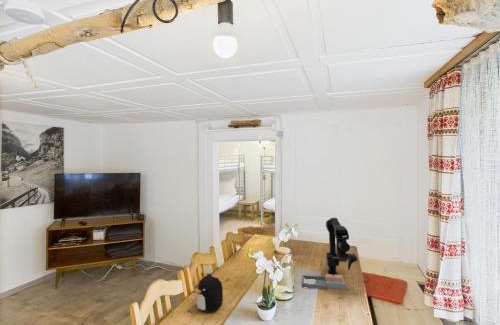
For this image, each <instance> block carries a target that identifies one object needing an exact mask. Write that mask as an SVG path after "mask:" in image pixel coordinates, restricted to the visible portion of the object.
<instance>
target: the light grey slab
mask: <svg viewBox="0 0 500 325" xmlns="http://www.w3.org/2000/svg"><path fill="white" fill-rule="evenodd" d="M325 282H326V285H327V289H337V290H346V283H345V279H344V278H343V282H336V281H335V279H334V281H326V277H325Z"/></svg>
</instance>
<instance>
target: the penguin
mask: <svg viewBox="0 0 500 325" xmlns="http://www.w3.org/2000/svg"><path fill="white" fill-rule="evenodd" d="M223 294H224V293H223V283H222V281H221V280H220V279H219V277H215V276H213V274H208V275H206V276H204V277H202V279H200V280H199V282H198V287H197V297H196V300H195V301H196V302H195V303H196V307H197V308H198V309H199V310H200V311H202V310H205V311H209V312H213V311H212V310H214V311H216V310H217V309H219V308H220V306H221V305H222V303H223V300H224V298H223V297H224V296H223ZM215 309H216V310H215ZM205 311H204V312H205Z"/></svg>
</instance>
